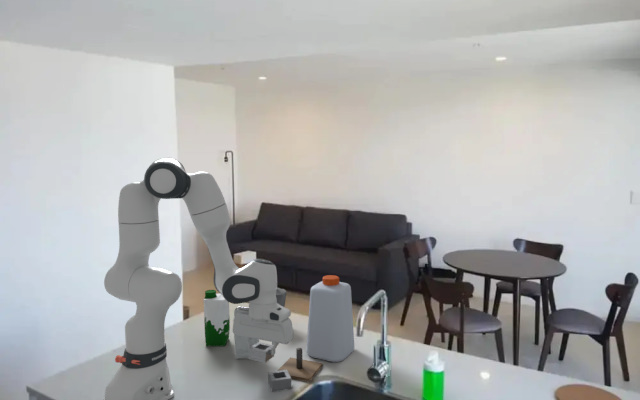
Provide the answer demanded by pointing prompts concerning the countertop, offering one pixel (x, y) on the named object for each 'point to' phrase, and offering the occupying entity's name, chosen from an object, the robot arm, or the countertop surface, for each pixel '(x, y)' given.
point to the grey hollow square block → (260, 352)
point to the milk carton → (216, 319)
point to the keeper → (301, 367)
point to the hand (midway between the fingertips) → (261, 352)
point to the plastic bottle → (330, 320)
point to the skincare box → (242, 346)
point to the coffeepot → (281, 296)
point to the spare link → (279, 380)
